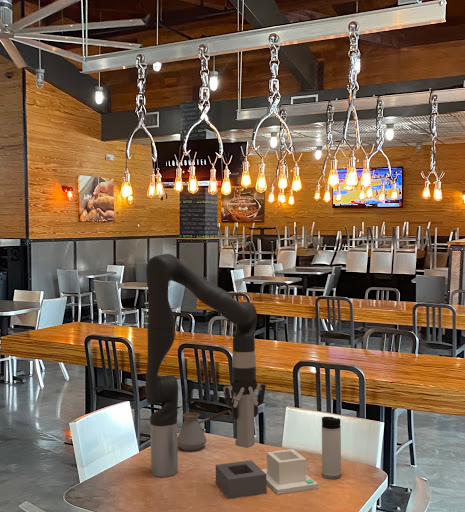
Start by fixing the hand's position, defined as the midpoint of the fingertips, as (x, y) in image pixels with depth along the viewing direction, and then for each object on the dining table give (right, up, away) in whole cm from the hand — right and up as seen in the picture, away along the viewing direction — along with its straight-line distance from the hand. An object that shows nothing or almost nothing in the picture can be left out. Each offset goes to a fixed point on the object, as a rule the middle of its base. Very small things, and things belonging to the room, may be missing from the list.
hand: (244, 417), depth 198 cm
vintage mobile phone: (0, -9, 0) cm, 9 cm away
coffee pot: (-15, -23, +40) cm, 48 cm away
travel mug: (+29, -22, +9) cm, 38 cm away
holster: (-1, -23, 0) cm, 23 cm away
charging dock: (+14, -22, +5) cm, 27 cm away
